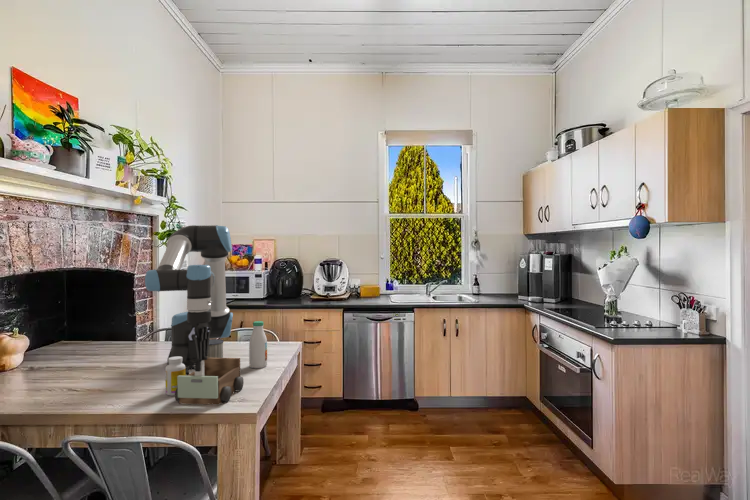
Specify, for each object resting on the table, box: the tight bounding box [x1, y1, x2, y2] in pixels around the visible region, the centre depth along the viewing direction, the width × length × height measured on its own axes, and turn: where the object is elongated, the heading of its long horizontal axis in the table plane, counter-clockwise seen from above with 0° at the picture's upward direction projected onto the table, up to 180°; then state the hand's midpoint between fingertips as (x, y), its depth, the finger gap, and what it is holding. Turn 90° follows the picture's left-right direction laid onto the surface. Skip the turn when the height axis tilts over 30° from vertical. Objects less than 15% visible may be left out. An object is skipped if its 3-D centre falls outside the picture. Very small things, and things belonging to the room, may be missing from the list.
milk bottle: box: [248, 320, 268, 369], centre depth 187 cm, size 8×8×20 cm
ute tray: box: [174, 357, 245, 405], centre depth 150 cm, size 18×18×11 cm
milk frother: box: [185, 338, 224, 376], centre depth 171 cm, size 14×16×15 cm
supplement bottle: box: [164, 356, 186, 397], centre depth 152 cm, size 7×7×13 cm
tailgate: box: [177, 375, 218, 399], centre depth 140 cm, size 14×2×7 cm, turn 86°
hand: (199, 379), depth 141 cm, fingers closed
